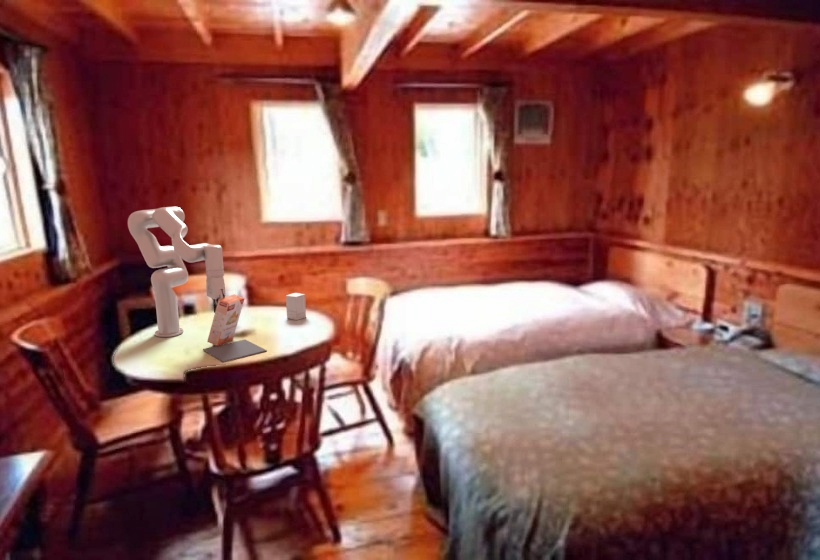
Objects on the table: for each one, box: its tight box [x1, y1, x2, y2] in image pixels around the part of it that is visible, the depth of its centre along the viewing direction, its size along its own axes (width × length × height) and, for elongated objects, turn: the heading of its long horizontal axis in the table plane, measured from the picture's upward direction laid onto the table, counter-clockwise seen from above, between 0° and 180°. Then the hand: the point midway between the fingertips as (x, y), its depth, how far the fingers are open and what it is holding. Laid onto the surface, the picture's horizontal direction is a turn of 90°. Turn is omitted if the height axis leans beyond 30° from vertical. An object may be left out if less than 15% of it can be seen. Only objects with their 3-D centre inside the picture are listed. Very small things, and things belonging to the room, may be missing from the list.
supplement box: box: [285, 292, 307, 321], centre depth 296 cm, size 7×7×13 cm
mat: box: [202, 339, 268, 363], centre depth 246 cm, size 20×20×1 cm
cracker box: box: [207, 294, 245, 346], centre depth 254 cm, size 14×6×21 cm, turn 168°
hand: (218, 312), depth 254 cm, fingers closed
